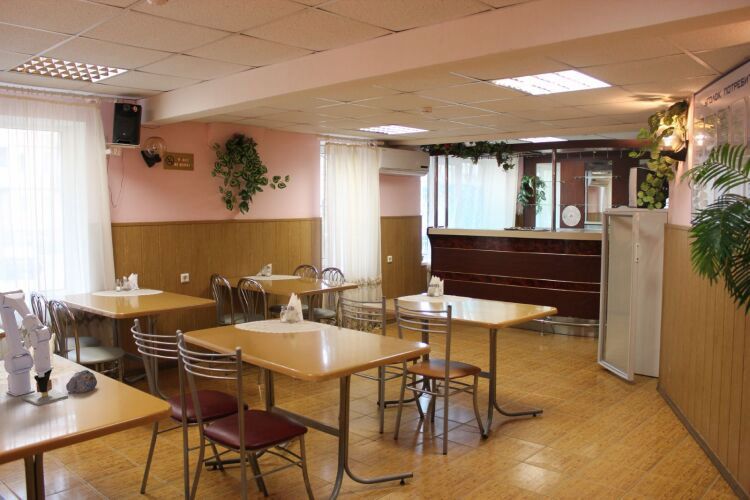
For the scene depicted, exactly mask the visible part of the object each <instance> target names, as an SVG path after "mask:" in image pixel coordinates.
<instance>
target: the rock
mask: <svg viewBox="0 0 750 500" xmlns="http://www.w3.org/2000/svg"><path fill="white" fill-rule="evenodd" d="M95 375H96V374H94V373H93V372H91V371H90V370H88V369H84V370H81V371H76V372H75V373H74V374H73V376H71V377H70V379H69V380H68V382H67V383H66V385H65V388H66V391H67V392H70V393H71V394H75V393H78V394H79V393H85V392H90V391H92V390H94V389H95V388H96V386H97V384H98V379H97V378H96V376H95Z"/></svg>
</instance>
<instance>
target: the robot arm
mask: <svg viewBox="0 0 750 500" xmlns="http://www.w3.org/2000/svg"><path fill="white" fill-rule="evenodd" d="M25 299H26V295H25V293H24V290H23V289H22V288H20V287H17V288H11V289H5V290H0V318H1V322H2V326H3V331H4V334H5V338H6V342H7V343H6V344H7V347H8V351H7V352H6V353H5V355H4V356H3V362H4V365H3V366H4V369H5V371H6V373H8V374H7V388H8V389H7V390H6V392H5V393H7V394H9V395H11V396H14V397H18V396H22V395H26V394H30V393H34V392H35V391H36V390H35V389H34V388H33V389H32V385H31V371H32V369H33V367H34V372H35V373H36V374H37V375H34V376H33V377H34V380H35V381H36V383H38V386H39V389H40V392H41V393H42V392H47V385H48V380H50V379H51V378H50V377H51V373H52V371H53V369H55V366H54V365H53V366H51V365H52V364H51V350H50V341H51V339H52V336H53V335H52V330H51V328H50V327H49V326H46V325H44V324H43V323H42V322H41V320H40V319H39V317H38V316H37V315H36V314H32V312H31V310H30V308H29V307H28V305H27V303H26V302H25ZM15 311H16V312H17V313H18V315H19V316H20V317H21V318H22V325H23V326H24V328H25V329H26V331H27V332H28V334H29V336H28V338H29V340H30V343H31V347H32V348H33V356H32V353H31V351H30V350H29V349H27V348H25V347H24V346H23V343H22V338H21V334H20V329H19V327H18V322H17V318H16V314H15ZM40 392H39V393H40Z"/></svg>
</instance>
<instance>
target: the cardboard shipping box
mask: <svg viewBox="0 0 750 500" xmlns="http://www.w3.org/2000/svg"><path fill="white" fill-rule="evenodd" d="M51 389H52V390H53V383H52V379H49V380H48V385H47V392H48V391H50V390H51ZM36 393H40V389H39V386H38V383H37V382H36Z"/></svg>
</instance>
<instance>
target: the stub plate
mask: <svg viewBox="0 0 750 500" xmlns="http://www.w3.org/2000/svg"><path fill="white" fill-rule="evenodd" d="M65 399H69V395H68V394H66V393H63V392H60V391H57V390H55V389H53V388H52V389H51V390H50V391H48V392H42V393H41V392H36V393H32V394H29V395H25V396H22V397H21V400H22V401H25V402H27V403H30V404H32V405H34V406H38V407H40V406H43V405H46V404H51V403H54V402H58V401H61V400H65Z"/></svg>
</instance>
